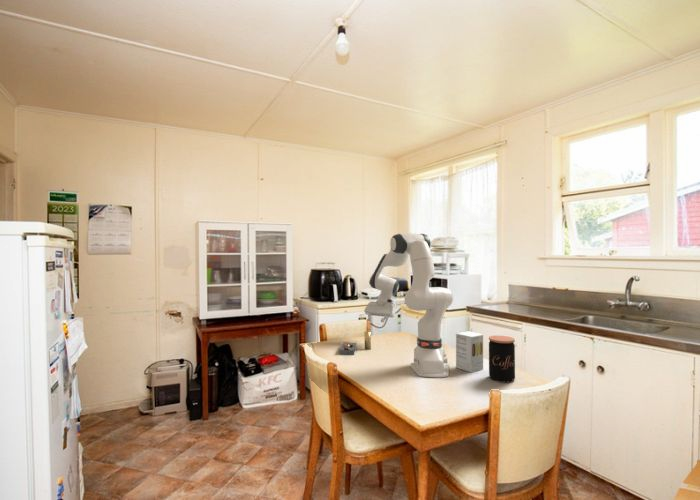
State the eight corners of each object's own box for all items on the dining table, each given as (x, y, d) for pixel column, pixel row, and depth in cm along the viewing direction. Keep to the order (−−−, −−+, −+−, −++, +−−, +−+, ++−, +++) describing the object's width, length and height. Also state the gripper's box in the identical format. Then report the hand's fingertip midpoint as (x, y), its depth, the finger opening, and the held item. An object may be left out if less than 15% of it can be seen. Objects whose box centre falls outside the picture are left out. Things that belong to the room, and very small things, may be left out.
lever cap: (370, 350, 204) (370, 332, 204) (364, 349, 204) (364, 332, 204) (370, 348, 207) (370, 331, 207) (364, 348, 207) (364, 331, 208)
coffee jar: (490, 381, 153) (489, 340, 153) (488, 373, 163) (487, 334, 163) (517, 384, 150) (516, 341, 150) (513, 375, 160) (512, 336, 160)
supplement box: (471, 373, 164) (470, 336, 164) (455, 367, 172) (455, 333, 172) (484, 369, 169) (483, 334, 169) (468, 364, 177) (467, 330, 177)
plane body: (353, 354, 194) (353, 345, 194) (339, 354, 195) (339, 345, 195) (356, 347, 210) (356, 338, 210) (343, 346, 211) (342, 338, 211)
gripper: (367, 298, 225) (359, 316, 217) (395, 300, 213) (388, 319, 205) (371, 304, 229) (363, 322, 221) (399, 307, 217) (391, 325, 209)
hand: (375, 320), depth 213 cm, fingers open, 8 cm apart
